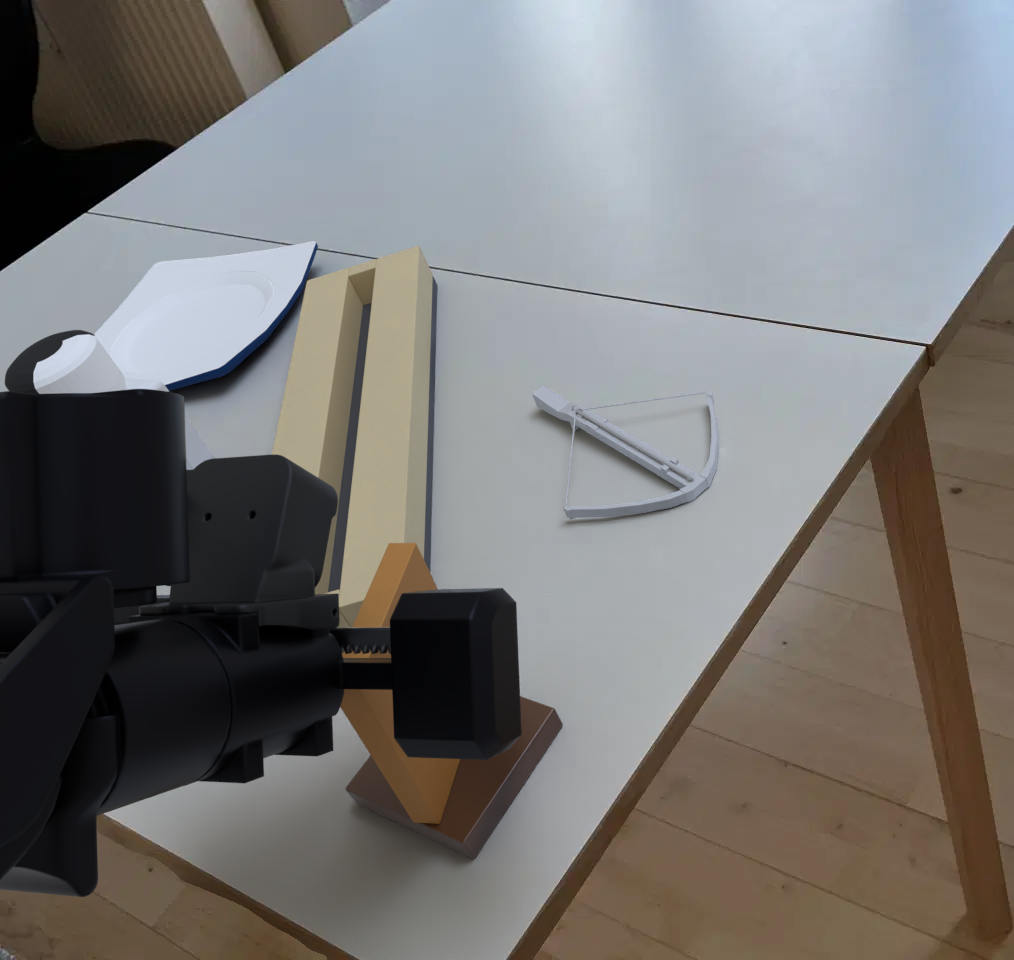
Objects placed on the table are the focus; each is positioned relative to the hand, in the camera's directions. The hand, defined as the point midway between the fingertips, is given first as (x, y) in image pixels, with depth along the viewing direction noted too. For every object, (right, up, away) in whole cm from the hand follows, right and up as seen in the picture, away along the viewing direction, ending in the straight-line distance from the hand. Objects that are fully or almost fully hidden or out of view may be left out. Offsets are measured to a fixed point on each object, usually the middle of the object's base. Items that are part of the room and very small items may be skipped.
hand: (406, 644), depth 52 cm
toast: (+2, -6, +3) cm, 7 cm away
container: (-26, +7, +31) cm, 41 cm away
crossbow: (+10, +10, +20) cm, 24 cm away
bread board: (+2, -7, +4) cm, 8 cm away
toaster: (-8, +10, +27) cm, 30 cm away
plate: (-28, +21, +47) cm, 59 cm away
